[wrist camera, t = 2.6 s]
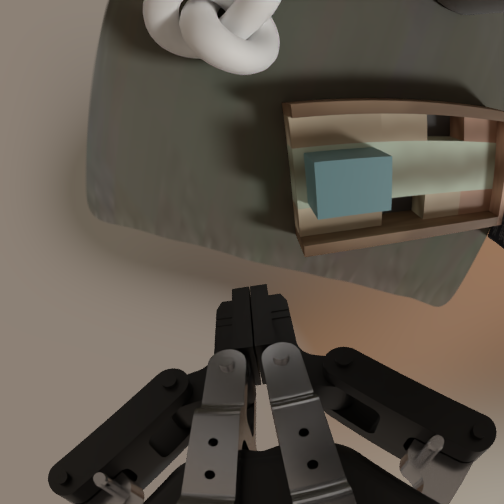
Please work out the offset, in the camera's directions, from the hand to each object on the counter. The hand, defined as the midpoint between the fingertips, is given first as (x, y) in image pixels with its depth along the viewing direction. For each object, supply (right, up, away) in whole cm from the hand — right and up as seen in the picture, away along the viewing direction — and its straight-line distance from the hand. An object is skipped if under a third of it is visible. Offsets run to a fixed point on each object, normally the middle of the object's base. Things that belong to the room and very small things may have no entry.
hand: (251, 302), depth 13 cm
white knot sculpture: (-2, +23, +10) cm, 25 cm away
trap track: (+17, +12, +17) cm, 27 cm away
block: (+8, +10, +14) cm, 19 cm away
